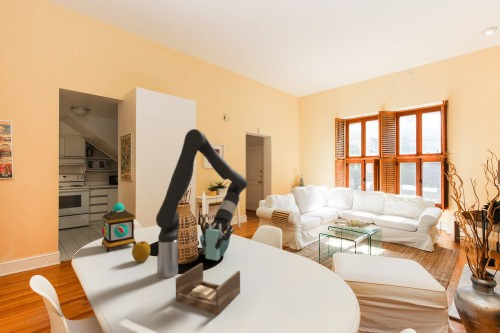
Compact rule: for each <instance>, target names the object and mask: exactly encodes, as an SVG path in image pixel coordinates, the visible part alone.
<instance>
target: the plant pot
mask: <svg viewBox="0 0 500 333" xmlns="http://www.w3.org/2000/svg"><path fill="white" fill-rule="evenodd" d="M225 233H226V231H225ZM203 241H204V237H203V234H201V235H200V236H199V242H200V246H201V248H202V250H203V252H204V254H206V247H204V246H203V244H202V243H203ZM230 241H231V237H230V238H229V239H228V241H226V240H224V241H223V242H222V244H221V247H220V258H221V257H223V256H224V255H225V253H226V251H227V250H228V249H229V248H228V247H229V245H230Z"/></svg>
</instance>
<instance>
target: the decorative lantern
mask: <svg viewBox="0 0 500 333" xmlns="http://www.w3.org/2000/svg"><path fill="white" fill-rule="evenodd" d="M101 218H102V220H103V227H102V228H101V234H102V236H103V239H102V240H101V246H102V247H105V248H106V251H107V253H110V250H111V248H116V247H120V246H125V245H131V244H132V245H133V247H134V245H135V244H136V243H137V241H136V238H135V234H134V233H135V228H136V227H135V219H136V216H135V215H134V214H133V213H131V212H129V211H127V210H126V209H125V205H124V204H122V203H121V202H117V203H116V204H115V205H113V207H112V209H111V211H109V212H108V213H105V214H103V216H102V217H101ZM103 245H104V246H103Z"/></svg>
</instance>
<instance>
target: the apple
mask: <svg viewBox="0 0 500 333" xmlns="http://www.w3.org/2000/svg"><path fill="white" fill-rule="evenodd" d="M131 255H132V258H133V260H134V262H136V263H144V262H146V261H148V258H149V257H150V255H151V246H150V244H149V243H148V242H147V241H144V240H143V241H138V242H137V241H136V244H135V245H134V246H133V247H132V250H131Z"/></svg>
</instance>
